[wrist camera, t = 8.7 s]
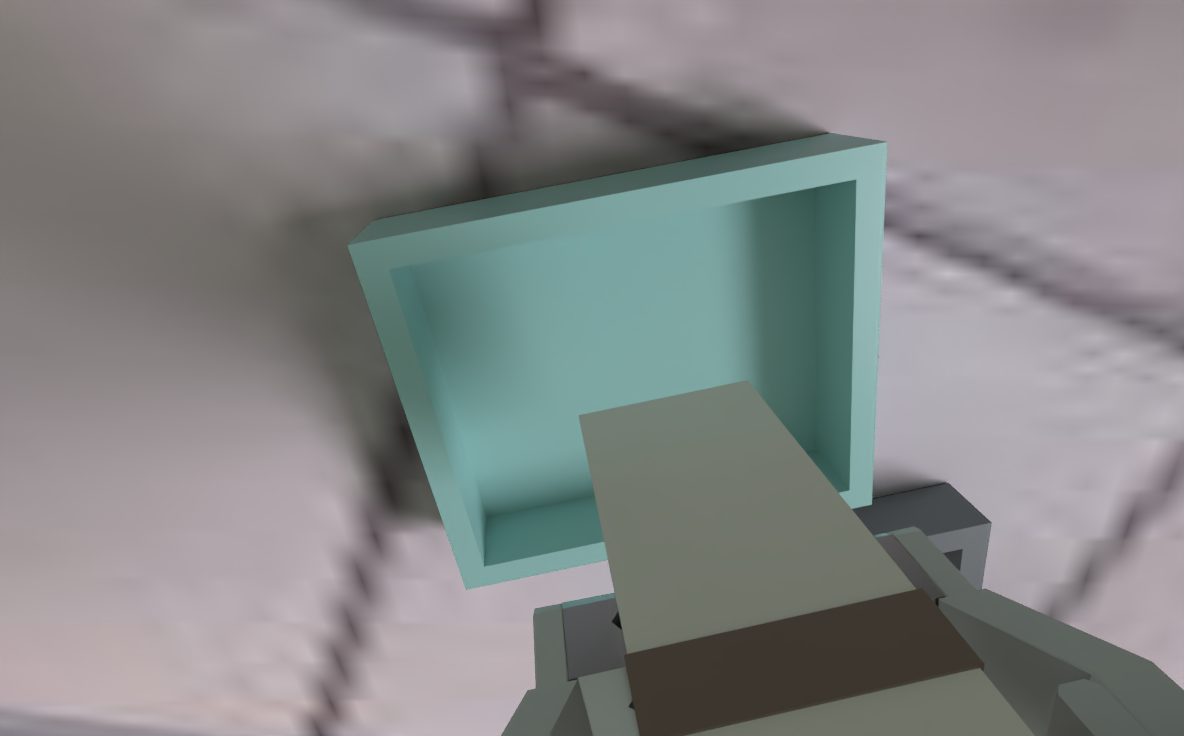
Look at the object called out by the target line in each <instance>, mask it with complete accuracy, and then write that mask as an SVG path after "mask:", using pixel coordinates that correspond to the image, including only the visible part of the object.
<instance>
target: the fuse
mask: <svg viewBox="0 0 1184 736" xmlns="http://www.w3.org/2000/svg"><path fill="white" fill-rule="evenodd" d="M578 416H579V421H580V426H581V431H582V436H583V441H584V445H585V450H586V455H587V460H588V465H589V470H590V475H591V480H592V484H593V489H594V494H595V499H596V504H597V509H598V514H599V519H600V524H601V528H602V533H603V538H604V543H605V548H606V553H607V558H608V563H609V567H610V572H611V577H612V582H613V587H614V592H615V597H616V601H617V606H618V611H619V616H620V621H621V626H622V631H623V636H624V640H625V645H626V650H627V654H625V655H624V659H625V664H626V669H627V675H628V680H629V685H630V690H631V695H632V700H633V705H634V710H635V715H636V720H637V725H638V730H639V735H640V736H1035V735H1034V734H1033V733H1032V731H1031V730H1030V729H1029V728H1028V726H1027V725H1026V724H1025V723H1024V722H1023V720H1022V719H1021V718H1020V717H1019V715H1018V714H1017V713H1016V712H1015V710H1014V709H1013V708H1012V707H1011V705H1010V704H1009V703H1008V702H1007V701H1006V699H1005V698H1004V697H1003V696H1002V694H1001V693H1000V692H999V691H998V689H997V688H996V687H995V686H994V684H993V683H992V682H991V681H990V679H989V678H988V677H987V676H986V675H985V673H984V672H983V671H984V665H985V664H984V663H983V661H982V660H981V659H980V658H979V657H978V655H977V654H976V653H975V652H974V650H973V649H972V648H971V647H970V646H969V644H968V643H967V642H966V641H965V639H964V638H963V637H962V636H961V635H960V633H959V632H958V631H957V630H956V629H955V627H954V626H953V625H952V624H951V622H950V621H949V620H948V619H947V618H946V616H945V615H944V614H943V613H942V612H941V610H940V609H939V608H938V607H937V605H936V604H935V603H934V602H933V601H932V599H931V598H930V597H929V596H928V594H927V593H926V592H925V591H924V590H923V588H920V589H916V588H915V587H914V586H913V584H912V583H911V582H910V581H909V579H908V578H907V577H906V576H905V574H904V573H903V572H902V571H901V569H900V568H899V567H898V566H897V564H896V563H895V562H894V561H893V560H892V558H891V557H890V556H889V555H888V553H887V552H886V551H885V550H884V548H883V547H882V546H881V545H880V543H879V542H878V541H877V540H876V539H875V537H874V536H873V535H872V534H871V532H870V531H869V530H868V529H867V527H866V526H865V525H864V524H863V522H862V521H861V520H860V519H859V517H858V516H857V515H856V514H855V513H854V511H853V510H852V509H851V508H850V506H849V505H848V504H847V503H846V501H845V500H844V499H843V498H842V496H841V495H840V494H839V493H838V492H837V490H836V489H835V488H834V487H833V485H832V484H831V483H830V482H829V480H828V479H827V478H826V477H825V475H824V474H823V473H822V472H821V470H820V469H819V468H818V467H817V466H816V464H815V463H814V462H813V461H812V459H811V458H810V457H809V456H808V454H807V453H806V452H805V451H804V449H803V448H802V447H801V446H800V445H799V443H798V442H797V441H796V440H795V438H794V437H793V436H792V435H791V433H790V432H789V431H788V430H787V428H786V427H785V426H784V425H783V424H782V422H781V421H780V420H779V419H778V417H777V416H776V415H775V414H774V412H773V411H772V410H771V409H770V407H769V406H768V405H767V404H766V402H765V401H764V400H763V399H762V398H761V396H760V395H759V394H758V393H757V391H756V390H755V389H754V388H753V386H752V385H751V384H750V383H749V381H748V380H746V381H741V382H736V383H731V384H726V385H722V386H717V387H712V388H707V389H702V390H697V391H693V392H688V393H683V394H678V395H673V396H669V397H664V398H659V399H654V400H649V401H645V402H640V403H635V404H630V405H625V406H620V407H616V408H611V409H606V410H601V411H596V412H592V413H587V414H582V415H578Z"/></svg>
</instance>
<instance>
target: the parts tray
mask: <svg viewBox="0 0 1184 736" xmlns="http://www.w3.org/2000/svg"><path fill="white" fill-rule="evenodd" d="M886 160H887V142H885V141H879V140H872V139H866V138H860V137H853V136H847V135H840V134H834V133H829V134H824V135H819V136H813V137H808V138H803V139H798V140H792V141H787V142H782V143H777V144H771V145H766V146H761V147H756V148H750V149H745V150H740V151H735V152H729V153H724V154H719V155H714V156H708V157H703V158H698V159H693V160H687V161H682V162H677V163H671V164H666V165H661V166H656V167H650V168H645V169H640V170H635V171H629V172H624V173H619V174H614V175H608V176H603V177H598V178H593V179H587V180H582V181H577V182H572V183H566V184H561V185H556V186H551V187H545V188H540V189H535V190H530V191H524V192H519V193H514V194H509V195H503V196H498V197H493V198H487V199H482V200H477V201H472V202H466V203H461V204H456V205H451V206H445V207H440V208H435V209H430V210H424V211H419V212H414V213H409V214H403V215H398V216H393V217H388V218H382V219H377V220H373V221H372V222H371V223H370V224H369V225H368V226H367V227H366V228H365V229H363V230H362V231H361V232H360V233H359V234H358V235H357V236H356V237H355V238H354V239H353V240H352V241H351V242H350V243H349V244H348V245H347V246H348V249H349V252H350V255H351V258H352V261H353V264H354V267H355V269H356V272H357V275H358V278H359V281H360V284H361V287H362V290H363V293H364V296H365V298H366V301H367V304H368V307H369V310H370V313H371V316H372V319H373V322H374V324H375V327H376V330H377V333H378V336H379V339H380V342H381V345H382V348H383V350H384V353H385V356H386V359H387V362H388V365H389V368H390V371H391V374H392V377H393V379H394V382H395V385H396V388H397V391H398V394H399V397H400V400H401V403H402V405H403V408H404V411H405V414H406V417H407V420H408V423H409V426H410V429H411V432H412V434H413V437H414V440H415V443H416V446H417V449H418V452H419V455H420V458H421V460H422V463H423V466H424V469H425V472H426V475H427V478H428V481H429V484H430V486H431V489H432V492H433V495H434V498H435V501H436V504H437V507H438V510H439V513H440V515H441V518H442V521H443V524H444V527H445V530H446V533H447V536H448V539H449V541H450V544H451V547H452V550H453V553H454V556H455V559H456V562H457V565H458V567H459V570H460V573H461V576H462V579H463V582H464V585H465V588H466V590H467V589H472V588H477V587H481V586H486V585H491V584H496V583H501V582H505V581H510V580H515V579H520V578H524V577H529V576H534V575H539V574H543V573H548V572H553V571H558V570H562V569H567V568H572V567H577V566H582V565H586V564H591V563H596V562H601V561H605V560H608V558H607V553H606V548H605V543H604V538H603V533H602V528H601V524H600V519H599V514H598V509H597V504H596V499H595V494H594V489H593V484H592V480H591V475H590V470H589V465H588V460H587V455H586V450H585V445H584V441H583V436H582V431H581V426H580V421H579V416H578V415H582V414H587V413H592V412H596V411H601V410H606V409H611V408H616V407H620V406H625V405H630V404H635V403H640V402H645V401H649V400H654V399H659V398H664V397H669V396H673V395H678V394H683V393H688V392H693V391H697V390H702V389H707V388H712V387H717V386H722V385H726V384H731V383H736V382H741V381H746V380H748V381H749V383H750V384H751V385H752V386H753V388H754V389H755V390H756V391H757V393H758V394H759V395H760V396H761V398H762V399H763V400H764V401H765V402H766V404H767V405H768V406H769V407H770V409H771V410H772V411H773V412H774V414H775V415H776V416H777V417H778V419H779V420H780V421H781V422H782V424H783V425H784V426H785V427H786V428H787V430H788V431H789V432H790V433H791V435H792V436H793V437H794V438H795V440H796V441H797V442H798V443H799V445H800V446H801V447H802V448H803V449H804V451H805V452H806V453H807V454H808V456H809V457H810V458H811V459H812V461H813V462H814V463H815V464H816V466H817V467H818V468H819V469H820V470H821V472H822V473H823V474H824V475H825V477H826V478H827V479H828V480H829V482H830V483H831V484H832V485H833V487H834V488H835V489H836V490H837V492H838V493H839V494H840V495H841V496H842V498H843V499H844V500H845V501H846V503H847V504H848V505H849V506H850V508H851V509H853V508H858V507H863V506H867V505H872V490H873V467H874V443H875V419H876V396H877V372H878V349H879V325H880V302H881V278H882V255H883V231H884V207H885V184H886Z"/></svg>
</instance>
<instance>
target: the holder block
mask: <svg viewBox="0 0 1184 736" xmlns="http://www.w3.org/2000/svg"><path fill="white" fill-rule="evenodd" d="M852 510H853V511H854V513H855V514H856V515H857V516H858V517H859V519H860V520H861V521H862V522H863V524H864V525H865V526H866V527H867V529H868V530H869V531H870V532H871V534H872V535H873V536H874V535H878V534H882V533H887V532H891V531H896V530H900V529H904V528H909V527H913V526H914V527H916V528H918V529H920V530H921V531H922V532H923V533H924V534H925V535H926V536H927V537H928V538H929V539H930V540H931V541H932V542H933V544H934V545H935V546H936V547H937V548H938V549H939V550H940V551H941V552H942V553H943V554H944V555H945V556H946V557H947V558H948V560H949V561H950V562H951V563H952V564H953V565H954V566H955V567H956V568H957V569H958V570H959V571H960V572H961V573H962V574H963V575H964V577H965V578H966V579H967V580H968V581H969V582H970V583H971V584H972V585H973V586H974V587H975V588H976V589H977V590H981V589H982V583H983V576H984V569H985V563H986V556H987V550H988V543H989V536H990V530H991V522H990V521H989V520H988V519H987V518H986V517H985V516H984V515H983V514H982V513H981V512H979V511H978V510H977V509H976V508H975V507H974V506H973V505H972V504H971V503H970V502H969V501H968V500H966V499H965V498H964V497H963V496H962V495H961V494H960V493H959V492H958V491H957V490H956V489H955V488H953V487H952V486H951V485H950V484H949V483H946V484H941V485H937V486H932V487H927V488H922V489H918V490H913V491H908V492H903V493H898V494H894V495H889V496H884V497H879V498H875V499H872V505H867V506H863V507H858V508H853V509H852Z"/></svg>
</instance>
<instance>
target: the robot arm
mask: <svg viewBox="0 0 1184 736" xmlns="http://www.w3.org/2000/svg"><path fill="white" fill-rule="evenodd" d="M874 537H875V539H876V540H877V541H878V542H879V543H880V545H881V546H882V547H883V548H884V550H885V551H886V552H887V553H888V555H889V556H890V557H891V558H892V560H893V561H894V562H895V563H896V564H897V566H898V567H899V568H900V569H901V571H902V572H903V573H904V574H905V576H906V577H907V578H908V579H909V581H910V582H911V583H912V584H913V586H914V587H915V588H916V589H920V588H923V590H924V591H925V592H926V593H927V594H928V596H929V597H930V598H931V599H932V601H933V602H934V603H935V604H936V605H937V607H938V608H939V609H940V610H941V612H942V613H943V614H944V615H945V616H946V618H947V619H948V620H949V621H950V622H951V624H952V625H953V626H954V627H955V629H956V630H957V631H958V632H959V633H960V635H961V636H962V637H963V638H964V639H965V641H966V642H967V643H968V644H969V646H970V647H971V648H972V649H973V650H974V652H975V653H976V654H977V655H978V657H979V658H980V659H981V660H982V661H983V663H984V664H985V665H984V671H983V672H984V673H985V675H986V676H987V677H988V678H989V679H990V681H991V682H992V683H993V684H994V686H995V687H996V688H997V689H998V691H999V692H1000V693H1001V694H1002V696H1003V697H1004V698H1005V699H1006V701H1007V702H1008V703H1009V704H1010V705H1011V707H1012V708H1013V709H1014V710H1015V712H1016V713H1017V714H1018V715H1019V717H1020V718H1021V719H1022V720H1023V722H1024V723H1025V724H1026V725H1027V726H1028V728H1029V729H1030V730H1031V731H1032V733H1033V734H1034V735H1035V736H1184V690H1183V689H1182V688H1181V687H1179V686H1178V685H1177V684H1176V683H1175V682H1174V681H1173V680H1172V679H1171V678H1169V677H1168V676H1167V675H1166V674H1165V673H1164V672H1163V671H1162V670H1161V669H1159V668H1158V667H1157V666H1156V665H1155V664H1154V663H1153V662H1152V661H1149V660H1147V659H1145V658H1143V657H1140V656H1138V655H1136V654H1133V653H1131V652H1129V651H1127V650H1124V649H1122V648H1120V647H1117V646H1115V645H1113V644H1111V643H1108V642H1106V641H1104V640H1101V639H1099V638H1097V637H1095V636H1092V635H1090V634H1088V633H1086V632H1083V631H1081V630H1079V629H1076V628H1074V627H1072V626H1070V625H1067V624H1065V623H1063V622H1060V621H1058V620H1056V619H1054V618H1051V617H1049V616H1047V615H1045V614H1042V613H1040V612H1038V611H1035V610H1033V609H1031V608H1029V607H1026V606H1024V605H1022V604H1019V603H1017V602H1015V601H1013V600H1010V599H1008V598H1006V597H1003V596H1001V595H999V594H997V593H994V592H992V591H990V590H988V589H982V590H977V589H976V588H975V587H974V586H973V585H972V584H971V583H970V582H969V581H968V580H967V579H966V578H965V577H964V575H963V574H962V573H961V572H960V571H959V570H958V569H957V568H956V567H955V566H954V565H953V564H952V563H951V562H950V561H949V560H948V558H947V557H946V556H945V555H944V554H943V553H942V552H941V551H940V550H939V549H938V548H937V547H936V546H935V545H934V544H933V542H932V541H931V540H930V539H929V538H928V537H927V536H926V535H925V534H924V533H923V532H922V531H921V530H920V529H918V528H916V527H914V526H913V527H909V528H904V529H900V530H896V531H891V532H887V533H882V534H878V535H874ZM533 626H534V653H535V679H536V689H532V690H528V691H527V692H526V694H525V696H524V698H523V699H522V701H521V703H520V704H519V706H518V708H517V709H516V711H515V713H514V715H513V716H512V718H511V720H510V721H509V723H508V725H507V726H506V728H505V730H504V732H503V733H502V735H501V736H640V735H639V730H638V725H637V720H636V715H635V710H634V705H633V700H632V695H631V690H630V685H629V680H628V675H627V669H626V664H625V659H624V655H625V654H627V650H626V645H625V640H624V636H623V631H622V626H621V621H620V616H619V611H618V606H617V601H616V597H615V593H611V594H606V595H601V596H595V597H590V598H585V599H580V600H575V601H569V602H564V603H562V604H557V605H551V606H546V607H541V608H536V609H535V610H534V615H533Z"/></svg>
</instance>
